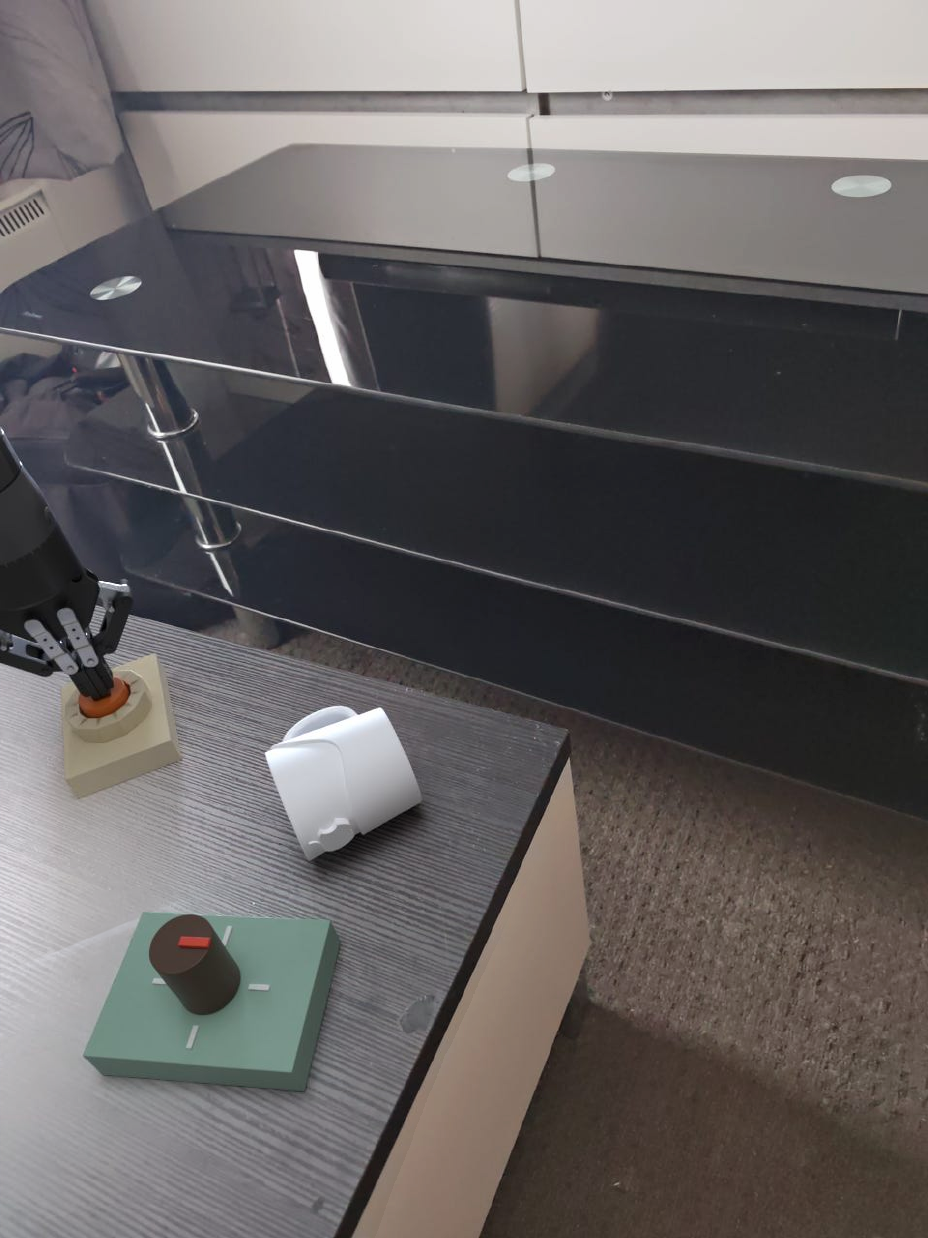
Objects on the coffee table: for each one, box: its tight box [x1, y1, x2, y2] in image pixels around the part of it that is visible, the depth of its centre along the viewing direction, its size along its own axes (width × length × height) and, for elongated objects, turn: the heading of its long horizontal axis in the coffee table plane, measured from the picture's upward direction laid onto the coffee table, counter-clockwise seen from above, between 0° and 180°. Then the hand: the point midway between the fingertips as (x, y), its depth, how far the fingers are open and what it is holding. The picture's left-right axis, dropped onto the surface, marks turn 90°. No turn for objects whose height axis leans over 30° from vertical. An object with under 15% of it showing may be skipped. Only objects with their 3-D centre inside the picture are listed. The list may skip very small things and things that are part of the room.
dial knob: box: [149, 913, 240, 1015], centre depth 58 cm, size 4×4×6 cm
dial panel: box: [82, 911, 342, 1092], centre depth 61 cm, size 14×10×3 cm
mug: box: [264, 705, 422, 862], centre depth 70 cm, size 12×9×8 cm
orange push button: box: [78, 676, 130, 718], centre depth 80 cm, size 4×4×2 cm
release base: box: [59, 653, 183, 799], centre depth 81 cm, size 12×9×4 cm
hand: (101, 691), depth 79 cm, fingers closed
